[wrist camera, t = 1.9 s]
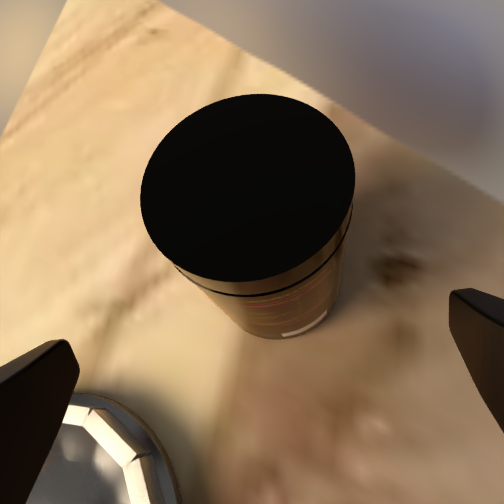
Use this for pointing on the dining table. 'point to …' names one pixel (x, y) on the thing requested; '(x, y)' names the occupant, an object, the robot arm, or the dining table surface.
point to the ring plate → (105, 459)
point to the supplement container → (255, 209)
